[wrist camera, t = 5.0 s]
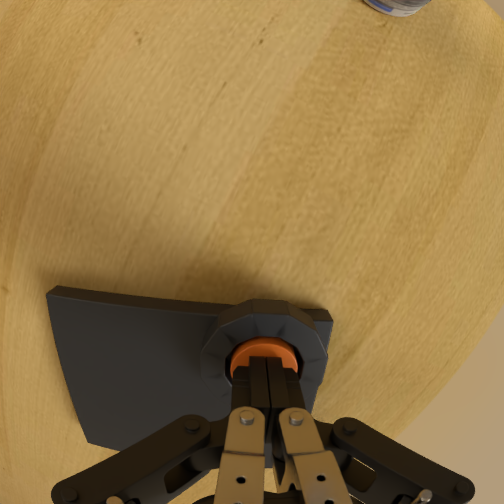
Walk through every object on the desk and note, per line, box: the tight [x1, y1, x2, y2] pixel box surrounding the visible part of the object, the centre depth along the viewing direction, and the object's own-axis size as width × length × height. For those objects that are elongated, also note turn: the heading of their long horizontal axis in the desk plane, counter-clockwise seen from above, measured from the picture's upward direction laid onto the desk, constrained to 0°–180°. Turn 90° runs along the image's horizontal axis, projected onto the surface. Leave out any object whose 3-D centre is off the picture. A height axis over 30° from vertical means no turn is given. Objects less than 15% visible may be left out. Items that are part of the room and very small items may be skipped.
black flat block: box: [46, 286, 333, 468], centre depth 16 cm, size 16×14×3 cm
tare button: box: [230, 336, 298, 378], centre depth 15 cm, size 3×3×2 cm
